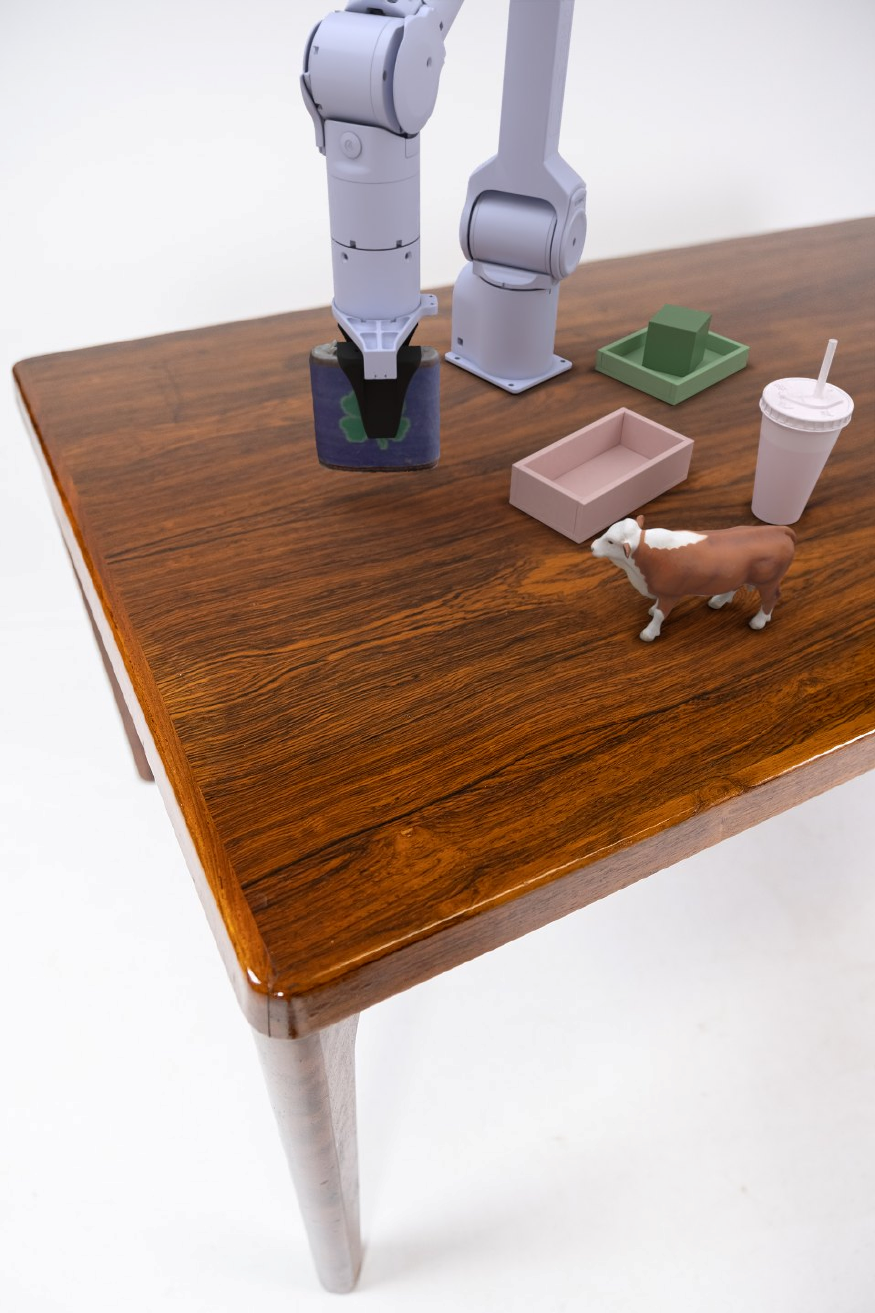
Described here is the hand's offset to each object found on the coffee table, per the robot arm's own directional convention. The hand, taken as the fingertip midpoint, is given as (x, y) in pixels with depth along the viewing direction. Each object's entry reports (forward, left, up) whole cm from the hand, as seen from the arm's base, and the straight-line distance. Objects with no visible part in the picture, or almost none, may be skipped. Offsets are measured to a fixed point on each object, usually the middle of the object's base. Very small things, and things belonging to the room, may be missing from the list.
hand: (381, 423), depth 74 cm
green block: (+1, +35, -6) cm, 36 cm away
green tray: (+1, +35, -7) cm, 36 cm away
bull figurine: (+24, +6, -7) cm, 26 cm away
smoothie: (+21, +22, -7) cm, 31 cm away
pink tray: (+10, +14, -7) cm, 19 cm away
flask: (0, 0, -4) cm, 4 cm away
